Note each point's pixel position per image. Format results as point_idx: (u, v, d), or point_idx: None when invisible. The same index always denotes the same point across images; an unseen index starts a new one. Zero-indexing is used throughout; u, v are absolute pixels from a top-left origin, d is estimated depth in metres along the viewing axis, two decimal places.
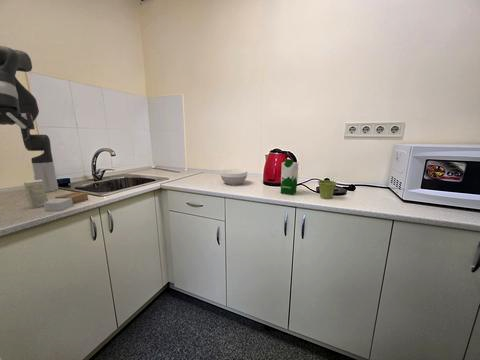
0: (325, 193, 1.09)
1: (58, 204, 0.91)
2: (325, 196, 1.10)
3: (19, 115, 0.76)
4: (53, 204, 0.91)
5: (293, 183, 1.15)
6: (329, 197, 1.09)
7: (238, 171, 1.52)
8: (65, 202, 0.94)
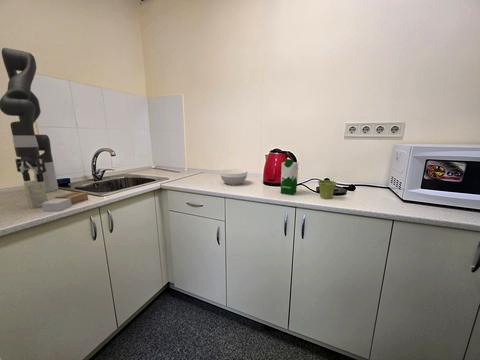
0: (325, 193, 1.09)
1: (57, 204, 0.91)
2: (325, 196, 1.10)
3: (33, 162, 0.92)
4: (52, 204, 0.91)
5: (293, 183, 1.15)
6: (329, 197, 1.09)
7: (238, 171, 1.52)
8: (64, 202, 0.94)
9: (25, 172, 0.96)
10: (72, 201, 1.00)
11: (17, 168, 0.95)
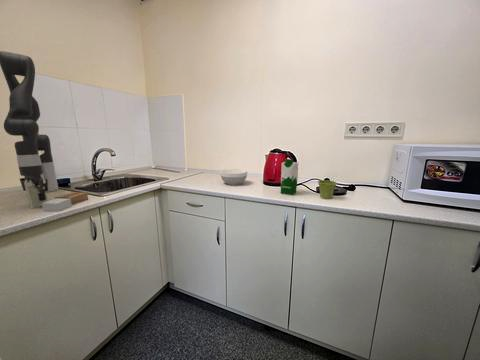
0: (325, 193, 1.09)
1: (56, 204, 0.90)
2: (325, 196, 1.10)
3: (37, 181, 0.94)
4: (51, 204, 0.91)
5: (293, 183, 1.15)
6: (329, 197, 1.09)
7: (238, 171, 1.52)
8: (63, 202, 0.94)
9: None
10: (72, 201, 1.00)
11: (23, 187, 0.96)
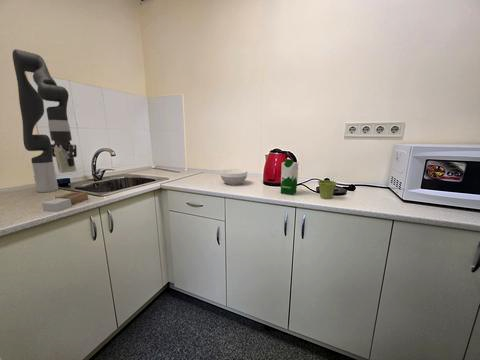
0: (325, 193, 1.09)
1: (54, 205, 0.90)
2: (325, 196, 1.10)
3: (66, 146, 0.97)
4: (50, 204, 0.90)
5: (293, 183, 1.15)
6: (329, 197, 1.09)
7: (238, 171, 1.52)
8: (62, 203, 0.93)
9: None
10: (73, 201, 1.00)
11: (52, 153, 1.00)
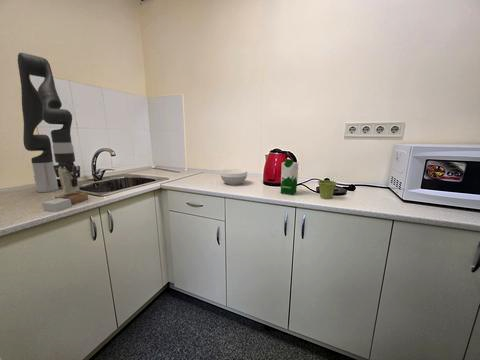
0: (325, 193, 1.09)
1: (53, 205, 0.90)
2: (325, 196, 1.10)
3: (70, 167, 0.99)
4: (49, 204, 0.90)
5: (293, 183, 1.15)
6: (329, 197, 1.09)
7: (238, 171, 1.52)
8: (62, 203, 0.93)
9: None
10: (74, 201, 1.00)
11: (56, 174, 1.02)
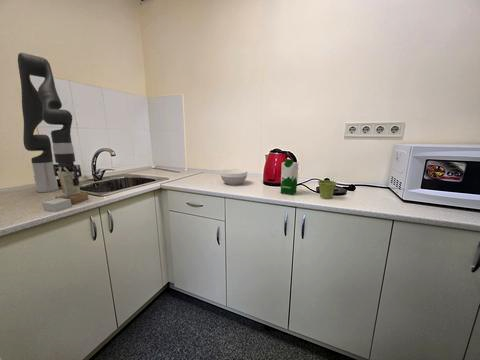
0: (325, 193, 1.09)
1: (53, 205, 0.90)
2: (325, 196, 1.10)
3: (70, 167, 0.99)
4: (49, 204, 0.90)
5: (293, 183, 1.15)
6: (329, 197, 1.09)
7: (238, 171, 1.52)
8: (61, 203, 0.93)
9: None
10: (74, 201, 1.00)
11: (54, 173, 1.02)
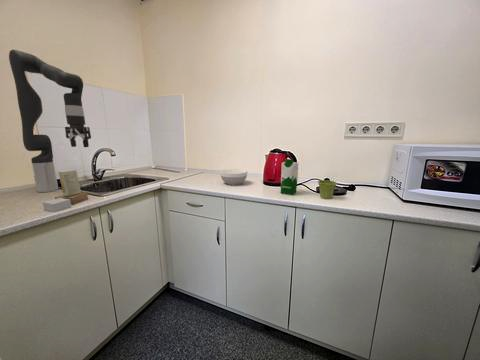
0: (325, 193, 1.09)
1: (52, 205, 0.90)
2: (325, 196, 1.10)
3: (81, 129, 1.06)
4: (48, 204, 0.90)
5: (293, 183, 1.15)
6: (329, 197, 1.09)
7: (238, 171, 1.52)
8: (61, 203, 0.93)
9: (72, 138, 1.10)
10: (74, 201, 1.00)
11: (66, 135, 1.09)
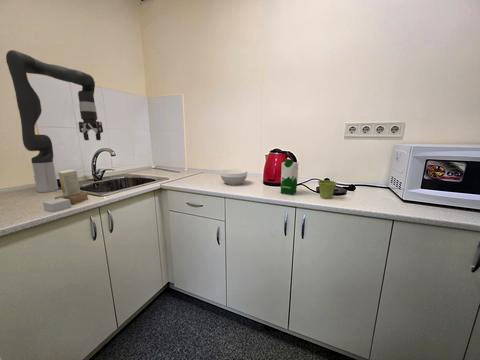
0: (325, 193, 1.09)
1: (51, 205, 0.90)
2: (325, 196, 1.10)
3: (94, 124, 1.16)
4: (48, 204, 0.91)
5: (293, 183, 1.15)
6: (329, 197, 1.09)
7: (238, 171, 1.52)
8: (60, 203, 0.92)
9: (85, 133, 1.19)
10: (74, 201, 1.00)
11: (79, 129, 1.19)
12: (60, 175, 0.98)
